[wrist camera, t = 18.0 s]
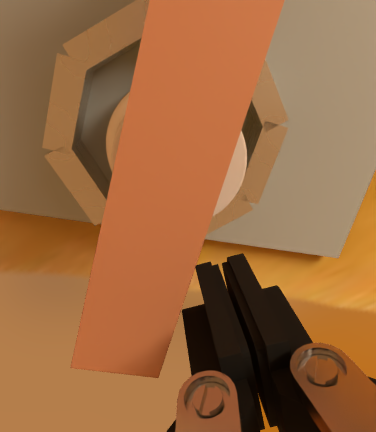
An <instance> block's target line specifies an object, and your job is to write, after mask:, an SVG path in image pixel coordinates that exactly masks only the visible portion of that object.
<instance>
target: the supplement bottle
mask: <svg viewBox="0 0 376 432" xmlns="http://www.w3.org/2000/svg"><path fill="white" fill-rule="evenodd" d="M129 94H130V92H129V93H128V94H127V95H126V96H125V97H124V98H123V99H122V100H121V101H120V102H119V104H118V105H117V107H116V108H115V110H114V112H113V114H112V116H111V119H110V121H109V125H108V129H107V134H106V152H107V157H108V162H109V165H110V168H111V170H112V173H113V168H114V164H115V159H116V154H117V150H118V145H119V140H120V136H121V131H122V126H123V122H124V117H125V112H126V108H127V103H128V99H129ZM246 167H247V149H246V144H245V140H244V136H243V133H242V131H241V132H240V135H239V138H238V141H237V144H236V147H235V150H234V153H233V156H232V159H231V162H230V165H229V168H228V171H227V174H226V177H225V180H224V183H223V186H222V189H221V192H220V195H219V198H218V201H217V204H216V207H215V210H214V213H213V216H215V215H216V214H218V213H219V212H220V211H222V210H223V209H224V208H225V207H226V206H227V205H228V204H229V203H230V202H231V201H232V200H233V198H234V197H235V195H236V194H237V192H238V191H239V189H240V187H241V184H242V182H243V179H244V176H245V172H246ZM213 216H212V217H213Z"/></svg>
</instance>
